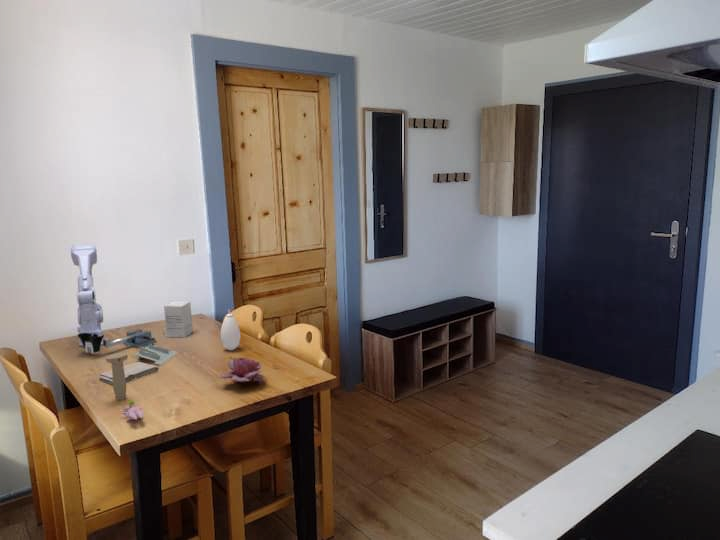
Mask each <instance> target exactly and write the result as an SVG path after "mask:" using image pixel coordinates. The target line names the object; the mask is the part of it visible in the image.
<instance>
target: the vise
mask: <svg viewBox="0 0 720 540" xmlns="http://www.w3.org/2000/svg"><path fill="white" fill-rule="evenodd" d="M102 341H103V344H102V345H103V346H104V347H105V348H110V347H115V346H116V345H120V344H122V345H123V344H125V345H124V346H128V345H130V346H129V347H132V346H135V347H134V348H136V347H140V348H141V347H144V348H146V347H145V346H148V345H149V344H153V345H155V344H154V343H156V344H157V340H156V338H155V337H152V331H150V330H143V329H141V328H137V329H133V330H130V331H126V336H124V337H121V338H117V339H114V340H111V338H109V337H108V338H107V337H106V338H103V339H102ZM140 348H139V349H140Z"/></svg>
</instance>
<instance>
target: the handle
mask: <svg viewBox="0 0 720 540" xmlns="http://www.w3.org/2000/svg"><path fill="white" fill-rule="evenodd" d="M127 359H128V353H127V352H117V353H112V354H109V355H107V356H105V361H106V362H107V363H109V364H111V368H112V369H111V370H112V375H113V385H112V387H113V393H114V395H115V396H114V397H115V400H116V401H123V400H125V399H126V398H127V394H126V393H127V382H126V379H125V373H124V367H123V366H124V361H126V360H127Z"/></svg>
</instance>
